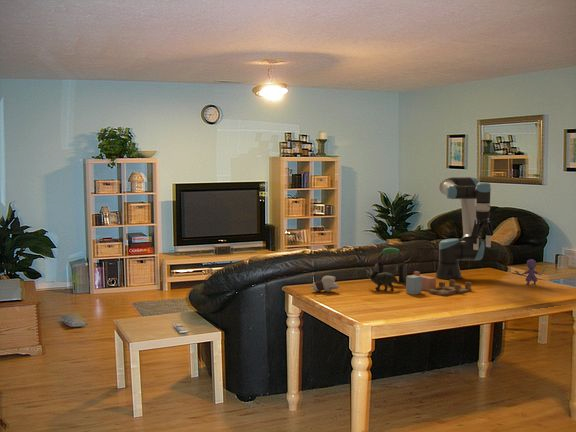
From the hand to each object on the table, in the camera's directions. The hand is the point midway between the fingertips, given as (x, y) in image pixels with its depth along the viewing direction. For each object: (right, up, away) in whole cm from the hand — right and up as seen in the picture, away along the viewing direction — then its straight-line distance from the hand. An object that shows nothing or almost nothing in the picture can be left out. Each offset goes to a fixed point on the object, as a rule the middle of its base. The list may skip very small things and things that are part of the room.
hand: (482, 248), depth 370 cm
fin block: (-41, -24, -12) cm, 49 cm away
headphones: (-48, -21, +21) cm, 56 cm away
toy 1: (-89, -24, -8) cm, 92 cm away
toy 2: (+29, -22, +6) cm, 37 cm away
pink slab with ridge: (-33, -23, -1) cm, 40 cm away
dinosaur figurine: (-56, -23, -4) cm, 60 cm away
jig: (-21, -23, -10) cm, 33 cm away
